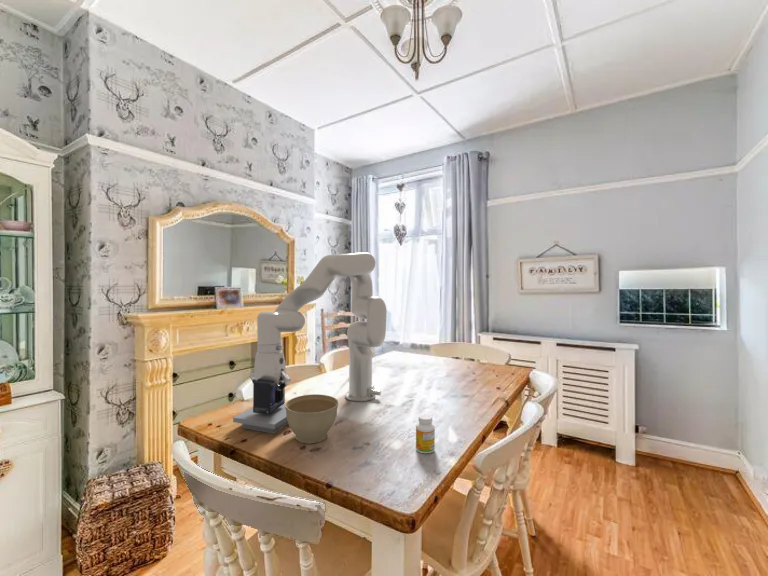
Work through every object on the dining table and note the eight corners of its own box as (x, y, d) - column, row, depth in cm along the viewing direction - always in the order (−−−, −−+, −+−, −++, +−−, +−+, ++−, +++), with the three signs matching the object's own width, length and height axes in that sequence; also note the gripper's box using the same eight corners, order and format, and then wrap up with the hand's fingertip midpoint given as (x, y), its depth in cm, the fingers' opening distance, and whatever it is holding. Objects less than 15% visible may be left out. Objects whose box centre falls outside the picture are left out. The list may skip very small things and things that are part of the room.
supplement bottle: (414, 445, 103) (414, 413, 102) (432, 444, 103) (432, 412, 103) (417, 454, 97) (417, 420, 97) (436, 453, 98) (436, 420, 97)
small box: (270, 414, 112) (270, 382, 111) (252, 413, 113) (251, 381, 113) (286, 403, 122) (285, 373, 122) (269, 401, 123) (269, 372, 123)
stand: (302, 417, 123) (302, 406, 122) (274, 437, 107) (274, 424, 107) (265, 411, 128) (265, 401, 128) (233, 429, 113) (233, 417, 112)
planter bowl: (313, 455, 96) (313, 417, 96) (274, 440, 105) (273, 405, 105) (348, 433, 110) (348, 399, 110) (311, 422, 119) (311, 390, 118)
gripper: (297, 347, 118) (298, 399, 118) (255, 344, 123) (256, 394, 124) (284, 352, 111) (284, 407, 111) (240, 348, 116) (241, 401, 117)
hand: (269, 399), depth 117 cm, fingers closed on small box, 6 cm apart
